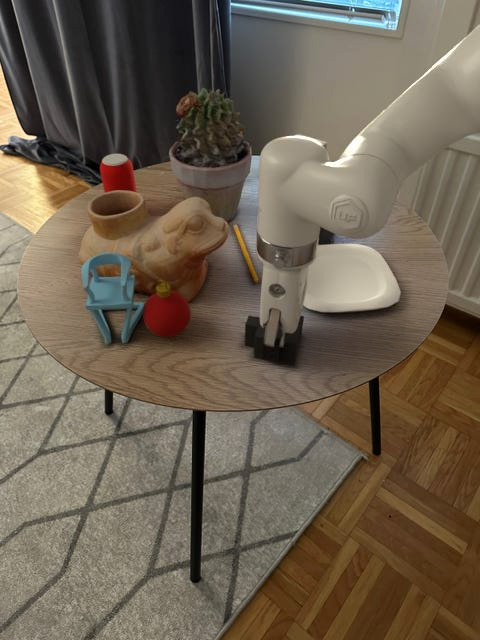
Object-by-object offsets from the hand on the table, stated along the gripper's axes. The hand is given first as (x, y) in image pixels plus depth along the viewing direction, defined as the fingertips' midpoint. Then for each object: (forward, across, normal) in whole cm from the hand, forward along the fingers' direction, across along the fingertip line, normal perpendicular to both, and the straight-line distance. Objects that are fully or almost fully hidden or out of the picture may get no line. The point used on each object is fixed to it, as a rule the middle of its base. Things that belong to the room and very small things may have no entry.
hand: (278, 342), depth 72 cm
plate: (+1, +18, -7) cm, 19 cm away
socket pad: (+1, +31, -1) cm, 31 cm away
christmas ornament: (+1, -1, +17) cm, 17 cm away
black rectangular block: (+1, 0, 0) cm, 1 cm away
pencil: (+1, +22, +11) cm, 25 cm away
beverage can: (+1, +28, +38) cm, 47 cm away
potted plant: (+1, +35, +21) cm, 41 cm away
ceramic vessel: (+1, +11, +24) cm, 27 cm away
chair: (+1, -2, +25) cm, 25 cm away
